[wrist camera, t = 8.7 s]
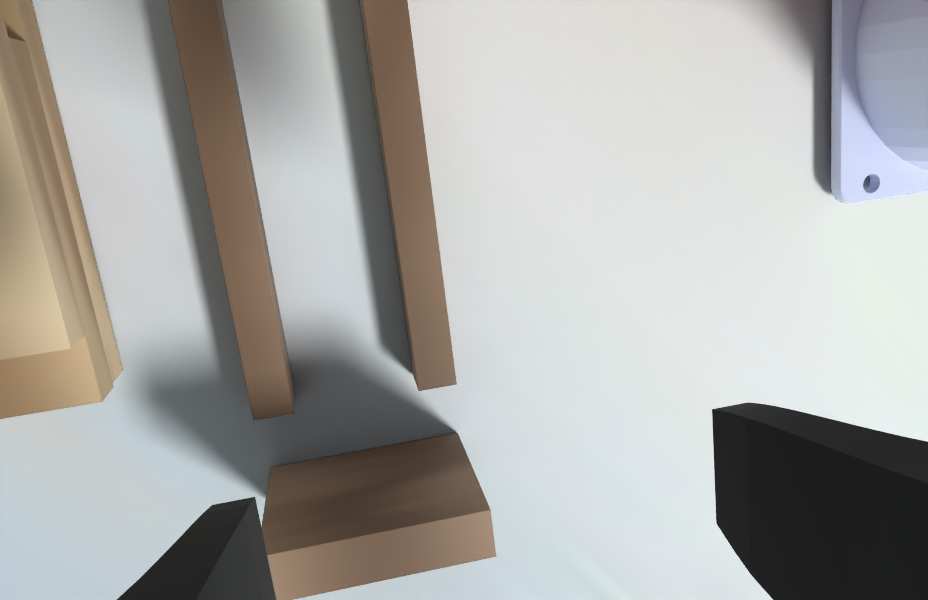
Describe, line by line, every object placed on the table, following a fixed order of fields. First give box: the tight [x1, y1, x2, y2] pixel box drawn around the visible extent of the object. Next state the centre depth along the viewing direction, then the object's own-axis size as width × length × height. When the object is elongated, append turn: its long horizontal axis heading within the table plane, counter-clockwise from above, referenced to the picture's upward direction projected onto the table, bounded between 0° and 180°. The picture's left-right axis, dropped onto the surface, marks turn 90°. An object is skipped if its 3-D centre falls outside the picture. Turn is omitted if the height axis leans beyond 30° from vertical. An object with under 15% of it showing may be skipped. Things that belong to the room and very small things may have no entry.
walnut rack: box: [168, 0, 496, 600], centre depth 17 cm, size 5×18×4 cm, turn 7°
